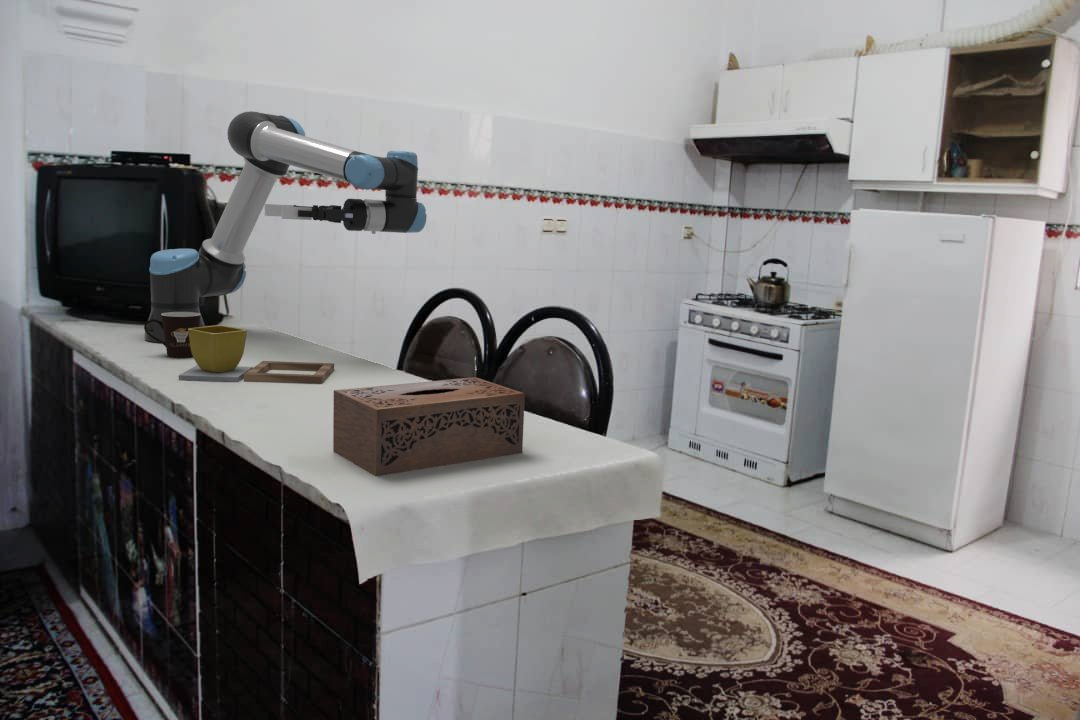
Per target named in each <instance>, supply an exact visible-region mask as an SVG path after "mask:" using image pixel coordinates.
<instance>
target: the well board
mask: <svg viewBox="0 0 1080 720" xmlns="http://www.w3.org/2000/svg"><path fill="white" fill-rule="evenodd" d="M252 367H253V368H252V369H251V370H249V371H248V372H246V373H245V374H244V378H243V382H256V383H259V382H260V383H283V384H284V383H287V384H313V385H314V384H317V385H320V384H321V385H322V384H323V382H325V380H327V378H328V377H329V376H330V375H331V374H332V373H333V372H334V371H335V363H334V362H333V363H332V362H306V361H280V360H279V361H278V360H277V361H276V360H275V361H274V360H273V361H272V360H262V361H260V362H259V363H258V364H256V365H255V366H252ZM270 370H275V371H276V370H278V371H280V370H282V371H310V372H315V373H314V374H310V373H308V374H306V373H305V374H303V373H301V374H300V373H279V372H278V373H274V372H268V371H270Z"/></svg>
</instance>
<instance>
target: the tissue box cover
mask: <svg viewBox="0 0 1080 720" xmlns="http://www.w3.org/2000/svg"><path fill="white" fill-rule="evenodd" d="M525 395H526V393H525V392H522V391H518V390H516V389H514V388H513V389H512V388H511V387H506V386H503V385H501V384H497V383H495V382H491V381H488V380H486V379H482V378H479V377H476V376H475V377H473V376H472V377H463V378H461V377H460V378H452V379H442V380H430V381H429V380H428V381H418V382H409V383H399V384H388V385H378V386H375V385H374V386H367V387H354V388H346V389H345V388H344V389H335V390H333V416H332V417H333V418H332V420H333V422H332V423H333V428H332V429H333V430H332V431H333V433H332V434H333V436H332V437H333V438H332V440H333V441H332V443H333V445H332V447H333V453H335V454H336V455H338V456H340V457H342V458H344V459H345V460H347V461H349V462H350V463H352V464H353V465H355V466H357V467H359V468H361V469H362V470H364V471H366V472H367V473H369V474H371V475H373V476H374V477H380V476H386V475H391V474H392V475H394V474H399V473H405V472H406V473H407V472H411V471H417V470H419V471H420V470H424V469H431V468H437V467H444V466H448V465H449V466H450V465H456V464H460V463H461V464H462V463H467V462H475V461H479V460H487V459H488V460H489V459H493V458H499V457H506V456H512V455H519V454H522V453H523V448H524V445H523V444H524V441H523V440H524V423H525V422H524V421H525V397H526V396H525Z"/></svg>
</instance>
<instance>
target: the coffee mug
mask: <svg viewBox="0 0 1080 720" xmlns="http://www.w3.org/2000/svg"><path fill="white" fill-rule="evenodd" d="M200 316H202V313H200V314H199V313H193V312H169V313H163V314H161V317H162V322H161V321H159V320H156V319H152V320H149V321H148V320H147V321H146V322H145V324H144V326H143V330H144V333H145V332H146V333H147V334H148V335H149V336H150V337H151V338H153V339H155V340H156V341H158V342H157V343H159V342H160V344H162V345H163V347H165V350H166V354H167V355H166V356H167V358H170V359H192V358H194V357H193V355H192V352H191V347H190V340H189V333H188V329H190V328H198V327H199V326H200ZM150 322H157V323H158V324H160V326H161V327H162V329H163V330H164V337H165V342H163V341H161V340H159V339H158V338H156V337H154V336H153V335H151V334H150V333H149V332H148V331H147V328H146V327H147V324H148V323H150Z"/></svg>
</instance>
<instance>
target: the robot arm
mask: <svg viewBox="0 0 1080 720" xmlns="http://www.w3.org/2000/svg"><path fill="white" fill-rule="evenodd" d="M227 140H228V143H229V145H230V147H231V148H232V150H233V151H234V152H235V153H236V154H237V155H239V156H241V157H242V158H243V159H244V161H245V164H244V166H243V168H242V171H241V172H240V174H239V177H238V179H237V181H236V184H235V185H234V188H233V189H232V192H231V194H230V197H229V199H228V201H227V203H226V205H225V208H224V210H223V212H222V214H221V216H220V219H219V221H218V223H217V225H216V227H215V230H214V232H213V234H212V236H211V238H207V239H205V240H203V241H202V243H201V246H200V248H199V250H198V251H197V250H196V249H194V248H174V249H172V248H170V249H162V250H159V251H156V252H154V253H152V254H151V257H150V259H149V260H150V264H149V279H150V281H149V282H150V301H151V304H150V305H151V308H150V314H149V317H148V319H147V321H149V320H152V319H156V320H159V321H161V322H162V317H161V314H163V313H169V312H193V313H199V314H201V312H200V298H202V297H206V298H207V297H213V296H215V297H222V296H225V295H229V294H233V293H235V292H237V291H238V290H239V289H240V288H241V287H242V286H243V284H244V282H245V281H246V280H245V279H246V277H247V271H246V270H245V269H246V267H247V266H246V263H245V261H246V258H245V257H246V256H245V255H244V253H243V251H244V249H245V247H246V244H247V242H248V240H249V238H250V236H251V233H252V232H253V230H254V228H255V226H256V223H257V221H258V219H259V217H260V215H261V214H262V211H263V209H264V216H266V217H281V220H302V221H303V220H305V221H313V220H314V221H319V222H322V221H326V222H327V221H328V222H330V223H335V224H336V223H337V224H343V226H344V229H345V230H347V231H350V232H353V231H355V232H362V231H363V232H371V234H373V235H375V234H376V233H377V232H379V233H380V232H381V233H382V232H384V233H387V232H388V233H403V234H404V233H405V234H407V233H410V234H411V233H420V232H422V230H424V228H425V226H426V223H427V217H428V216H427V213H426V211H427V209H426V207H425V205H424V204H423V203H422V202H419V201H418V199H417V193H418V192H417V191H418V173H419V172H418V171H419V167H418V163H419V162H418V155H417V154H416V153H415V152H414V151H406V150H405V151H404V150H388V151H387V153H386V157H385V156H384V157H382V156H376V155H371V154H368V153H364V152H362V151H358V150H354V149H351V148H347V147H343V146H341V145H337V144H333V143H329V142H326V141H322V140H318V139H316V138H313V137H309V136H306V132H305V130H304V128H303V127H302V125H301V124H300V123H299V122H298V121H297V120H295V119H293V118H292V117H291V118H290V117H286V116H284V115H276V114H269V113H263V112H259V111H252V110H251V111H243V112H241V113H239V114H238V115H236V116H234V117H233V119H231V121H230V122H229V125H228V128H227ZM290 166H293V167H295V168H299V169H303V170H305V171H309V172H313V173H316V174H320V175H322V176H325V177H329V178H332V179H335V180H339V181H342V182H345V183H349V184H351V185H352V187H354V188H358V189H362V190H366V191H369V190H380V191H384V192H385V193H384V195H385V200H382V199H367V198H366V199H362V198H347V199H346V200H345V201H344V203H343V207H342V205H333V204H330V205H316V204H313V205H312V206H306V205H305V206H304V205H296V204H293V205H292V204H272V203H267V201H268V198H269V196H270V194H271V192H272V189H273V187H274V185H275V184H276V181H277V179H279V178H282V177H285V176H286V174H287V172H288V171H289V167H290ZM342 222H343V223H342ZM199 327H206V325H205V322H204V319H203V317H202V315H201V316H200V326H199ZM146 328H147V331H148V332H149V333H150V334H151V335H153V336H154V337H156V338H158V339H159V340H161V341H163V342H165V337H164V330H163V329H162V327H161V326H160V324H158V323H157V322H150V323H148V324H147V327H146ZM144 340H145V341H147V342H152V343H160V342H158V341H156V340H155V339H153V338H151V337H150V336H149V335H148V334H147V333H146V332H145V331H144ZM160 344H161V343H160Z"/></svg>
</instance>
